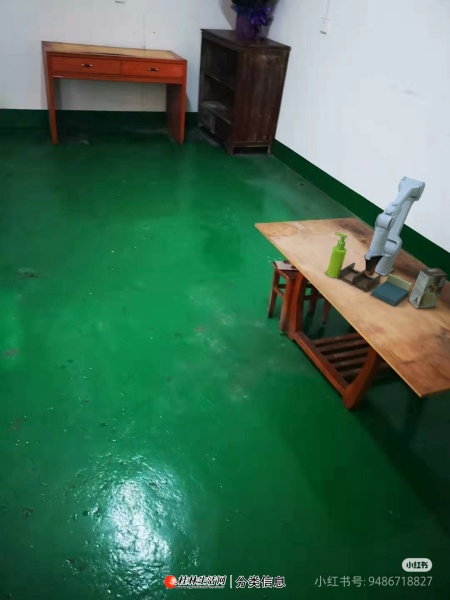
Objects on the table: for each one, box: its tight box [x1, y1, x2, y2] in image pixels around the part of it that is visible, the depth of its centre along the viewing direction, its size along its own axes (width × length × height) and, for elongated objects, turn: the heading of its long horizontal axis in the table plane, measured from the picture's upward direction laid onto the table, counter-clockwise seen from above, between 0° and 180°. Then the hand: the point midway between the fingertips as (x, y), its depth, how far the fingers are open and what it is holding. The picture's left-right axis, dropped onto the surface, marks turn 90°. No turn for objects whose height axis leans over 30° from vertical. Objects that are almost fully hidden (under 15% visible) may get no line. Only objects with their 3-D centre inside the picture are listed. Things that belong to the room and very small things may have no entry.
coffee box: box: [408, 267, 449, 309], centre depth 192 cm, size 9×6×16 cm
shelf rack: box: [337, 262, 383, 293], centre depth 207 cm, size 13×14×4 cm
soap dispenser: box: [326, 231, 348, 279], centre depth 205 cm, size 6×7×20 cm
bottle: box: [364, 263, 377, 277], centre depth 201 cm, size 4×4×7 cm
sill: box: [370, 273, 413, 307], centre depth 198 cm, size 14×11×6 cm
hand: (370, 268), depth 202 cm, fingers closed on bottle, 4 cm apart
